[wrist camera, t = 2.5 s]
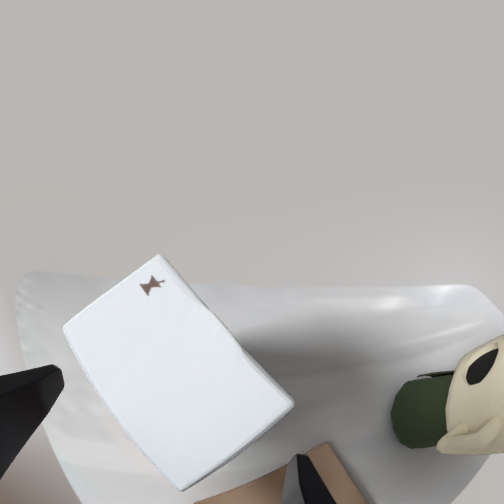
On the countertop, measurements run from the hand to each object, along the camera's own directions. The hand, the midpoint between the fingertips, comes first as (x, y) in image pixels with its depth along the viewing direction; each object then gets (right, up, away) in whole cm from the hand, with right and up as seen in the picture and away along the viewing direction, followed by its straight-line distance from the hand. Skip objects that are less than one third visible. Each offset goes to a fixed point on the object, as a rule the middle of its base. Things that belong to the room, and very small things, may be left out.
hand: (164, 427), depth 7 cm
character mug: (+16, -7, +9) cm, 20 cm away
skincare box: (0, -4, +9) cm, 10 cm away
